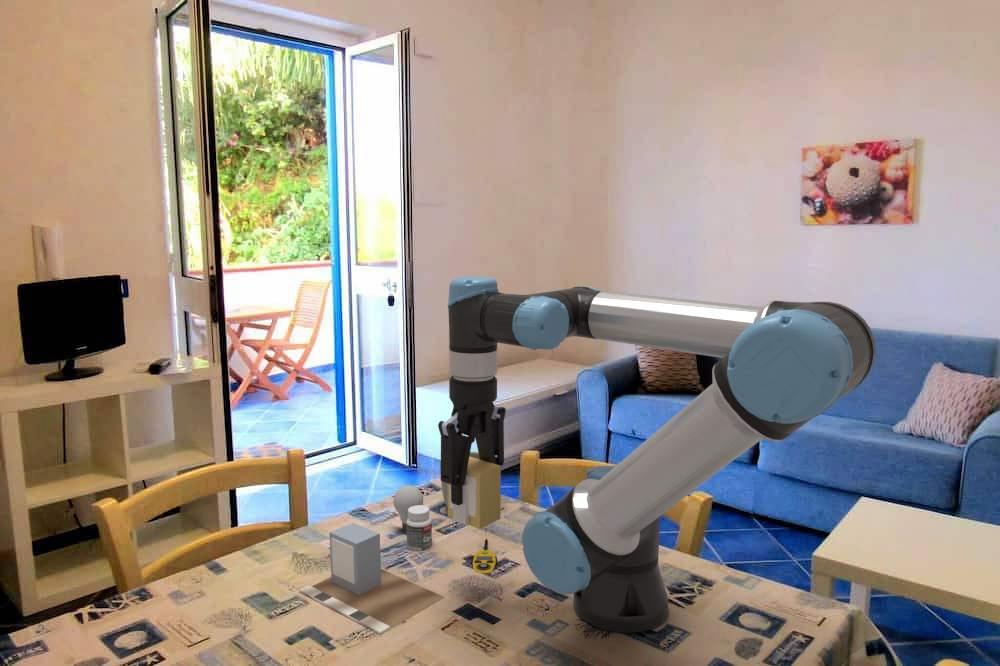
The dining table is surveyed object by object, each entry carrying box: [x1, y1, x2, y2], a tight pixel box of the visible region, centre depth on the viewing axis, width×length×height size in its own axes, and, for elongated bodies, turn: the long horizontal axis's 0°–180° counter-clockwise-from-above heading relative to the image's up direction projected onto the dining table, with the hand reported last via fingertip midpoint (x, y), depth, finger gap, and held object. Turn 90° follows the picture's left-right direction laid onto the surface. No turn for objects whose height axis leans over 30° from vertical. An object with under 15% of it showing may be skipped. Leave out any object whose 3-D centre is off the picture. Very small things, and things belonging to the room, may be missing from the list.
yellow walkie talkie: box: [470, 538, 499, 574], centre depth 136 cm, size 5×2×15 cm
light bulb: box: [392, 484, 424, 532], centre depth 147 cm, size 6×6×10 cm
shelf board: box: [298, 568, 445, 636], centre depth 122 cm, size 20×14×2 cm
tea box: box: [447, 456, 502, 530], centre depth 119 cm, size 5×7×9 cm
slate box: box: [328, 522, 382, 595], centre depth 125 cm, size 5×7×9 cm
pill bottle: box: [406, 505, 433, 552], centre depth 139 cm, size 5×5×8 cm
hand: (473, 515), depth 119 cm, fingers closed on tea box, 5 cm apart
